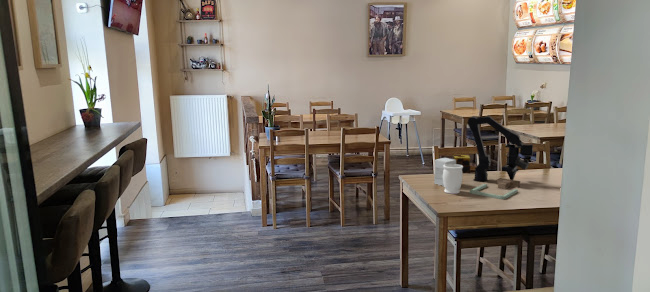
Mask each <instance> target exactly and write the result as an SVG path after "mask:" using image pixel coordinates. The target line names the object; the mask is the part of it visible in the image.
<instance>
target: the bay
mask: <svg viewBox="0 0 650 292" xmlns="http://www.w3.org/2000/svg"><path fill="white" fill-rule="evenodd" d="M487 187H488V183H484V184H480V185H478V186H476V187H474V188H473V189H470V190H469V194H471V195H472V194H473V195H478V196H483V197H487V198H494V199H499V200H503V201H504V200H506V199H507V198H509V197H512V196H513V195H515V194H517V193H518V192H519V191H518V188H514V189H512V190H510V191H507V193H505V194H502V195H499V194H494V193H490V192H489V193H488V192H486V191H485V192H483V191H481V190H482V189H486V188H487Z"/></svg>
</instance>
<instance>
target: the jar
mask: <svg viewBox="0 0 650 292" xmlns="http://www.w3.org/2000/svg"><path fill="white" fill-rule="evenodd" d="M443 168H444V170H443V184H444V186H443V187H444V192H445V194H452V195H453V194H454V195H456V194H459V193H461V190H460V189H461V187H462V182H463V176H464V175H463V174H464V173H462V168H463V166H462V165H458V164H445V165H443Z"/></svg>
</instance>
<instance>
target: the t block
mask: <svg viewBox="0 0 650 292" xmlns="http://www.w3.org/2000/svg"><path fill="white" fill-rule="evenodd" d="M496 185H497V189H501V190H506V189H508V188H511V187H512V188H515V189H518V188H519V187H521V181H520V180H515V179H514V180H510V178H503V177H499V178H496Z"/></svg>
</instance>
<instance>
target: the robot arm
mask: <svg viewBox="0 0 650 292" xmlns="http://www.w3.org/2000/svg"><path fill="white" fill-rule="evenodd" d="M484 124H488V125H489V126H491V128H492V129H494V130H496V131H497V132H499V133H500V134H501V135H502V136H504V137H505V139H506V140H507V141H508V143H507V144H506V145H505V148H508V151H507V152H508V155H507V157H506V159H507V163H506V165H503V166H501V171H502V172H505V173H506V174H507V176H508V177H509V178H508V179H510V180H515V177H516V174H517V172H519V170H520V169H522V170H524V171H525V170H526V169H528V167H529V166H530V162H529V160H528V159H524V160H522V159H521V156H524V157H533V153H534V149H533V148H534V145H533V144H524V143H523V142H522V140H521V136H520V134H519V133H517V132H514V131H512V130H510V129H508V128H506V127H505V126H504V125H503V124H501V123H499V122H498V121H497V120H496V119H494V118H493V117H492V116H490V115H485V116H474V115H473V116H471V117H469V118H468V119H467V126H468V127H469V129H470V131H471V133H472V135H473V139H474V142H475V146H476V149H477V153H478V164H477V165H476V167H475V168H474V178H473V179H472V180H473V181H475V182H476V181H477V182H481V183H485V182H487V181H489V179H488V176H489V174H488V168H489V167H490V165H491V162H492V159H491V155H490V154H487V153H486V150H485V146H484V142H483V139H482V135H481V131H480V125H484ZM519 155H520V156H519ZM518 167H519V168H518Z"/></svg>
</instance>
